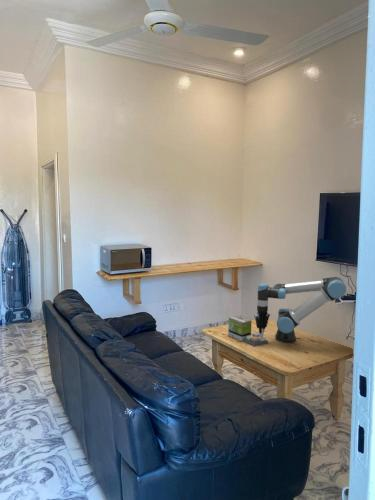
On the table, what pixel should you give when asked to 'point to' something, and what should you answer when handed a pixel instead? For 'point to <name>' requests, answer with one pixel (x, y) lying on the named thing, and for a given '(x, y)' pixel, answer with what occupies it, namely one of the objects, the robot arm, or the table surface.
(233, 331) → the tea box
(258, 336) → the slate key
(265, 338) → the ivory key
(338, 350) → the table surface
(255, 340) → the rust key
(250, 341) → the keypad board
